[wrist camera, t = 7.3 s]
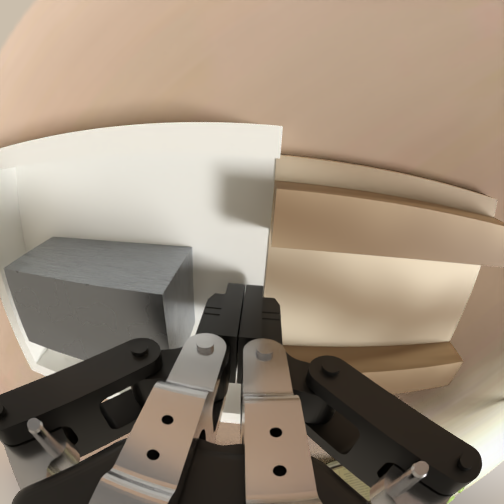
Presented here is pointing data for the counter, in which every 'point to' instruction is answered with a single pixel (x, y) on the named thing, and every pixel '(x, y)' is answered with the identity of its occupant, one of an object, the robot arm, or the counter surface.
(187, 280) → the steel chip
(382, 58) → the counter surface
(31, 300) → the steel chip
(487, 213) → the slot block
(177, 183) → the tray
